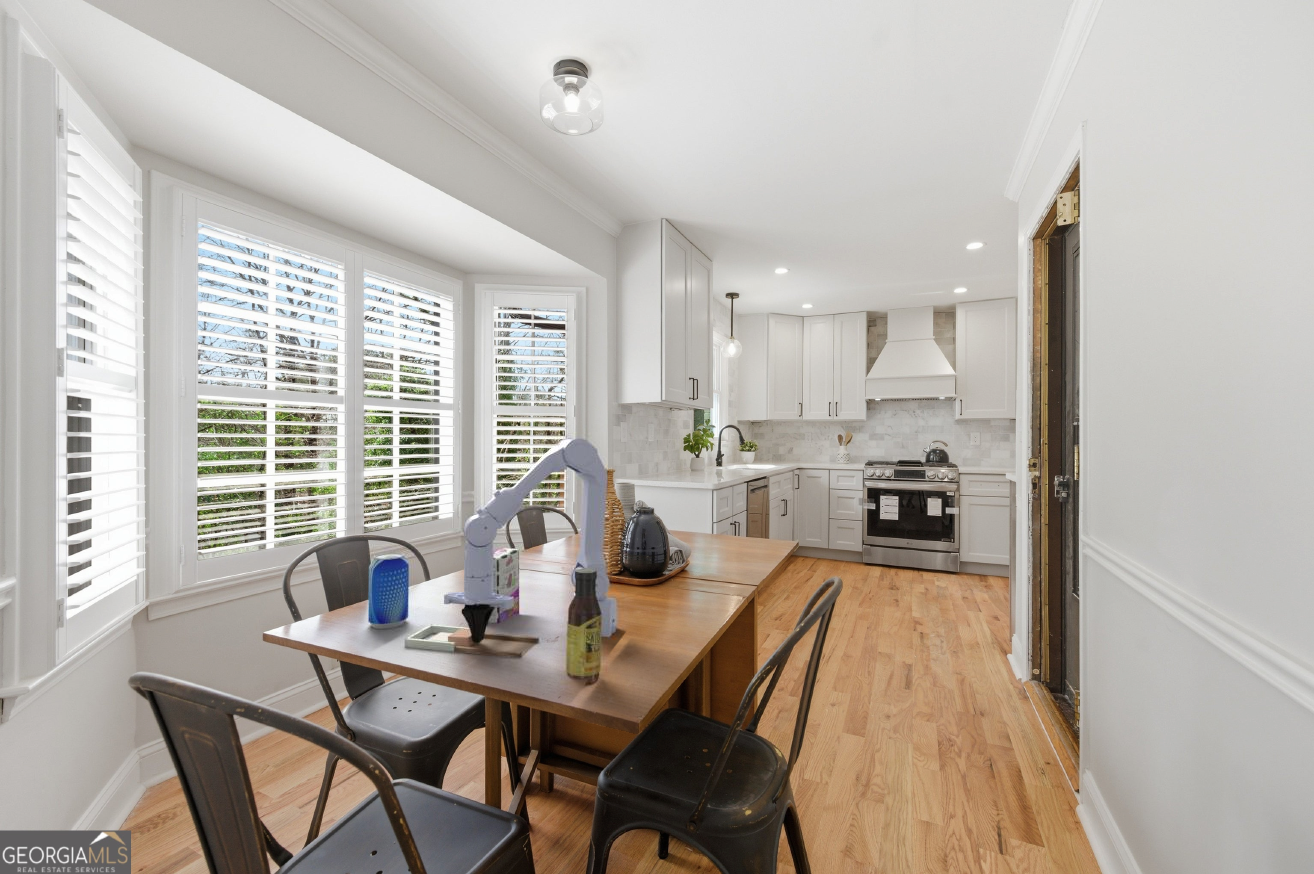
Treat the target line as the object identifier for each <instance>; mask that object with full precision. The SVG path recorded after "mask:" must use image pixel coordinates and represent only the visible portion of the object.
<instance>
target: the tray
mask: <svg viewBox="0 0 1314 874" xmlns="http://www.w3.org/2000/svg"><path fill="white" fill-rule="evenodd" d="M459 629H468V630H470V628H469V627H461V626H453V625H452V626H451V625H439V624H429V625H428V626H426V627H423V628H422V629H420V630H419V631H417V632H414V633H413V634H411V635H409V636H408V637H406V638H404V647H405V648H414V649H425V650H433V651H434V650H435V651H444V652H454V647H455V646H456V643H454V642H444V641H433V640H428V639H424V638H425V637H427V636H429V635H431V634H438V633H440V632H445V633H454V632H456V631H458V630H459Z"/></svg>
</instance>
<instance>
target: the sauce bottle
mask: <svg viewBox="0 0 1314 874" xmlns="http://www.w3.org/2000/svg"><path fill="white" fill-rule="evenodd" d="M596 578H597V571H596V570H595V569H590V568H584V569H577V570H575V580H576V583H575V586H574V587H575V590H574V592H575V597H574V598H573V597H572V600H571V602H570V604H569V606H568V612H567V613H568V614H567V617H568V618H567V624H566V625H567V629H566V630H567V631H566V657H565V658H566V659H565V660H566V661H565V671H566V673H567V676H568V677H571V678H574V679H578V680H580V679H585V680H586V679H588V680H587V681H586V683H584V685H585V686H587V685H592V684H594V683H597V681H598V680H599V678H600V672H601V669H602V668H601V667H602V665H601V664H602V661H601V660H602V659H601V658H602V657H601V656H602V636H601V628H602V613H601V609H600V606H599V603H598V600H597V597H596Z"/></svg>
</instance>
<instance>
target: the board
mask: <svg viewBox="0 0 1314 874" xmlns="http://www.w3.org/2000/svg"><path fill="white" fill-rule="evenodd" d="M539 642H540V638H539V637H537V636H536V637H535V636H526V635H517V634H516V635H515V634H504V633H492V632H485V634H484V639H483V640H482V641H481V642H479V643H474V644H473V645H471V646H470V647H464V646H455V647H454V651H453V652H455V653H456V652H457V653H466V654H473V655H474V654H476V655H486V656H495V657H503V658H504V657H505V658H514V659H515V658H516V659H520V658H522V657H523V656H524V655H526V653H528V652H529V651H530V650H531V649H532V648H533V647H535V646H536V645H537V644H538V643H539Z"/></svg>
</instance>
